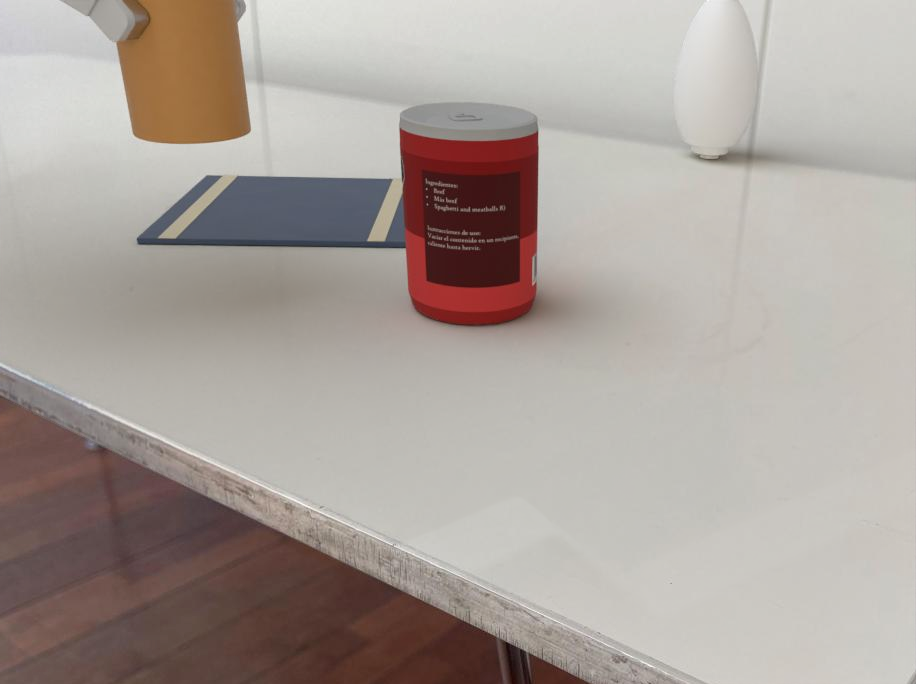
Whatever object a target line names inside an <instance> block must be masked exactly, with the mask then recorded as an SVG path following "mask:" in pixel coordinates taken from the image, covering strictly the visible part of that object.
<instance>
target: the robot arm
mask: <svg viewBox="0 0 916 684" xmlns="http://www.w3.org/2000/svg"><path fill="white" fill-rule="evenodd" d="M59 1H60V2H61V3H63V4H65V5H67V6H68V7H70V8H72V9H74V10H75V11H77V12H78V13H80V14H82V15H84V16H85V17H89V18H90V19H91V21H92V22H93V23H94V24H95V25H96V26H97V28H99V29H100V31H101V32H102V33H103V34H104V35H105V37H106V38H107V39H108V40H109V41H111V42H112V43H116V42H120V41H126V40H132V39H139V37H140V36H141V35H142V31H143V30H144V29H145V28H146V27H147V26H148V24H149V19H150V18H149V15H148V12H147V11H146V10H145V8H144V7H143V6H141V5H140V4H138V3H137V0H59ZM235 7H236V15H237V22H238V23H239V21H240V20H241V19H242V17H243V16H244V14H245V13H246V11H247V5H246V2H245V0H235Z"/></svg>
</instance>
